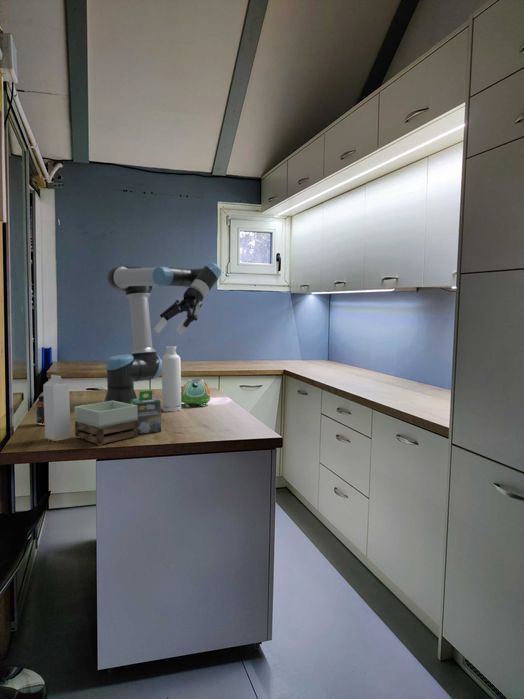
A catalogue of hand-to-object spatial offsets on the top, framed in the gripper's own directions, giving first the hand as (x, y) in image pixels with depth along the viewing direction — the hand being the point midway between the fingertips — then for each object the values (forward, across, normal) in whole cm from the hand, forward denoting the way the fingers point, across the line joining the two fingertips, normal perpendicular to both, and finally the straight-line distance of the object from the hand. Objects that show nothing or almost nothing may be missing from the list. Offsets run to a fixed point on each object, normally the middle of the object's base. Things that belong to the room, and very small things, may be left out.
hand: (167, 332), depth 193 cm
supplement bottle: (+48, +35, -3) cm, 59 cm away
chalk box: (+34, -3, -16) cm, 38 cm away
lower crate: (+45, -1, -5) cm, 45 cm away
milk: (+53, +10, +3) cm, 54 cm away
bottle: (+12, +20, -38) cm, 45 cm away
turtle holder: (+3, +21, -47) cm, 52 cm away
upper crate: (+40, -1, -1) cm, 41 cm away
